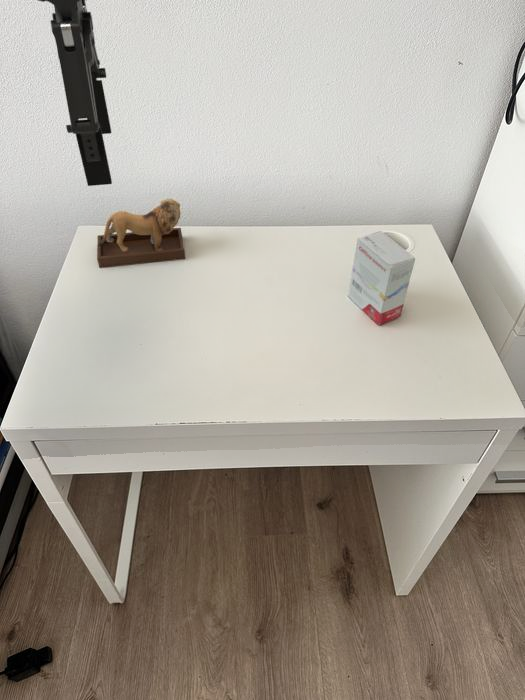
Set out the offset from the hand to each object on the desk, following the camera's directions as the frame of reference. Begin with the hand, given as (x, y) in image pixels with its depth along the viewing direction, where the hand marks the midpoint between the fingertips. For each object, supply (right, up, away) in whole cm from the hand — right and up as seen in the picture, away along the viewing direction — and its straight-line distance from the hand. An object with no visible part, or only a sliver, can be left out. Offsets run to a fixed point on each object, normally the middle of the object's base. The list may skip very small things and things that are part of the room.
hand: (100, 156), depth 67 cm
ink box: (+39, -17, +22) cm, 48 cm away
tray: (-2, -6, +31) cm, 32 cm away
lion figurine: (-2, -5, +31) cm, 31 cm away
